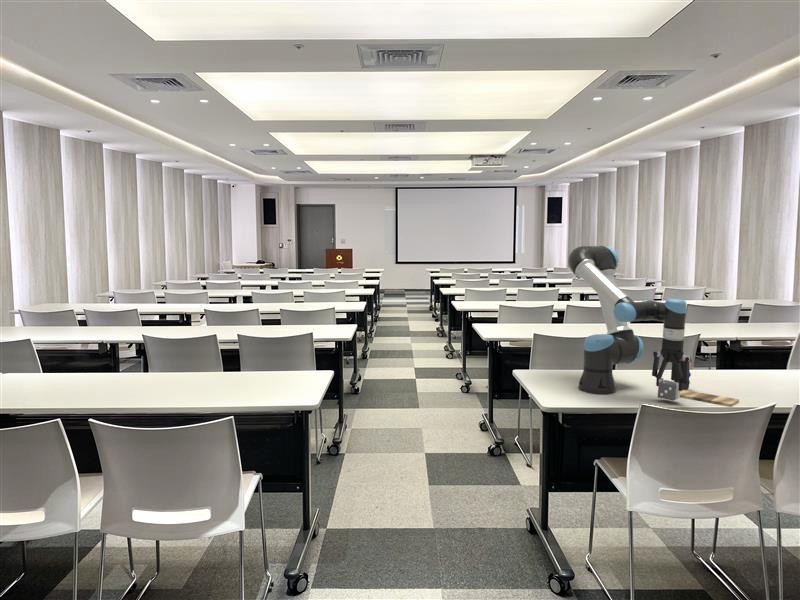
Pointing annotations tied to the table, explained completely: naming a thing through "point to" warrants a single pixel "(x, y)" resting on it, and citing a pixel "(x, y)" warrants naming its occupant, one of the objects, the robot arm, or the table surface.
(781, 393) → the table surface
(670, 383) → the die
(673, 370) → the character figurine
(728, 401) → the track
